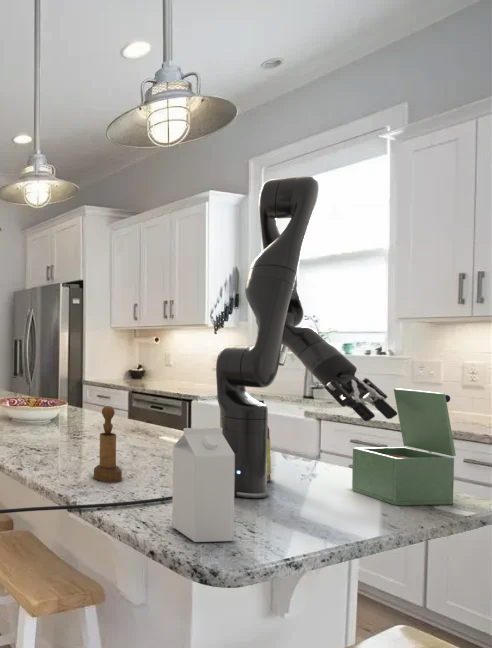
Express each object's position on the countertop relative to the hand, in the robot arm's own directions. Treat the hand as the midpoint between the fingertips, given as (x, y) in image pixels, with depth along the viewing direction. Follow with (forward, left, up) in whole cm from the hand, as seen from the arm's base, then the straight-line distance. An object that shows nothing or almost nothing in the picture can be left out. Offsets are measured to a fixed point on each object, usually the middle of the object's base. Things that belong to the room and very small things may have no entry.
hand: (382, 417), depth 111 cm
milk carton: (-53, -20, -17) cm, 59 cm away
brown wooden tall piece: (-56, +16, -17) cm, 61 cm away
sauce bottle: (-20, +13, -17) cm, 29 cm away
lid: (+8, -2, 0) cm, 8 cm away
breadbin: (+3, -2, -17) cm, 18 cm away
